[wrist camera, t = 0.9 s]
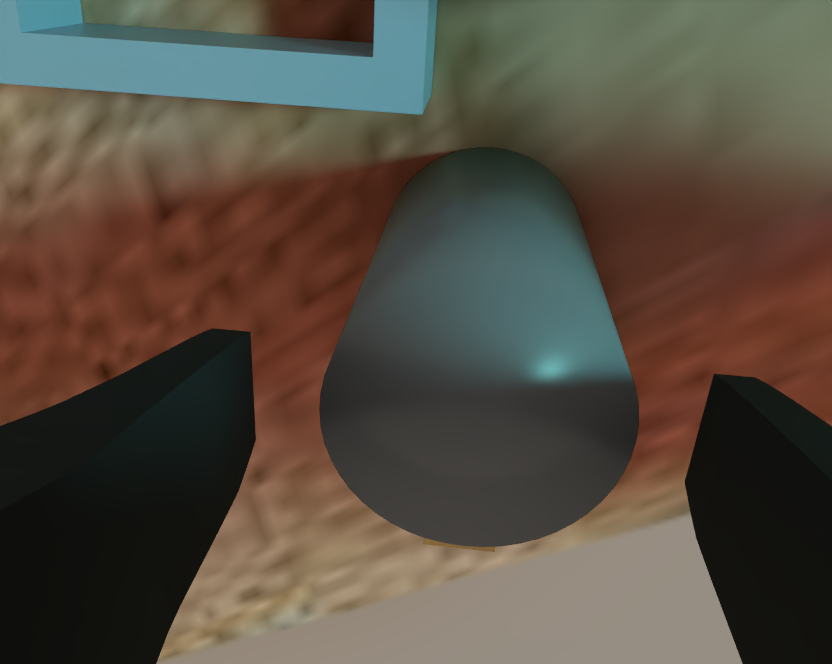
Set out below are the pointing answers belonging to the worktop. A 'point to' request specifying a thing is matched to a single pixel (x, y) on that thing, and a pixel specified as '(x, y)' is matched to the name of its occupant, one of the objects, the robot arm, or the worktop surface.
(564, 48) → the worktop surface
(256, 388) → the worktop surface
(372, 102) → the light blue shallow tray
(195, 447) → the robot arm
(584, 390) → the dark grey rounded cylinder
